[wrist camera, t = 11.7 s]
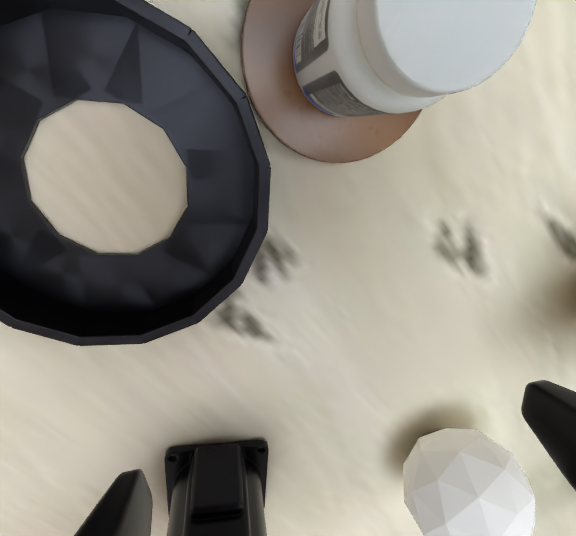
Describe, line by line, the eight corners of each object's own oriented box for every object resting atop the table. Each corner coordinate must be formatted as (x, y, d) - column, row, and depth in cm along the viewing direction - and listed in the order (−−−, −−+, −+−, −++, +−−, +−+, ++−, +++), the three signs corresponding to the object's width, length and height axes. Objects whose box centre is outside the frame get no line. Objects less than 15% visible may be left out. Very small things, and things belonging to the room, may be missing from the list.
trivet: (413, 166, 19) (418, 167, 18) (238, 156, 17) (239, 157, 16) (456, -51, 15) (463, -57, 15) (243, -91, 14) (244, -98, 13)
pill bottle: (408, 85, 17) (571, 53, 9) (319, 136, 17) (402, 147, 9) (372, -32, 15) (539, -202, 7) (271, 27, 15) (325, -77, 7)
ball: (413, 398, 29) (493, 408, 21) (485, 465, 29) (589, 498, 21) (361, 485, 26) (433, 532, 18) (441, 559, 26) (545, 635, 18)
